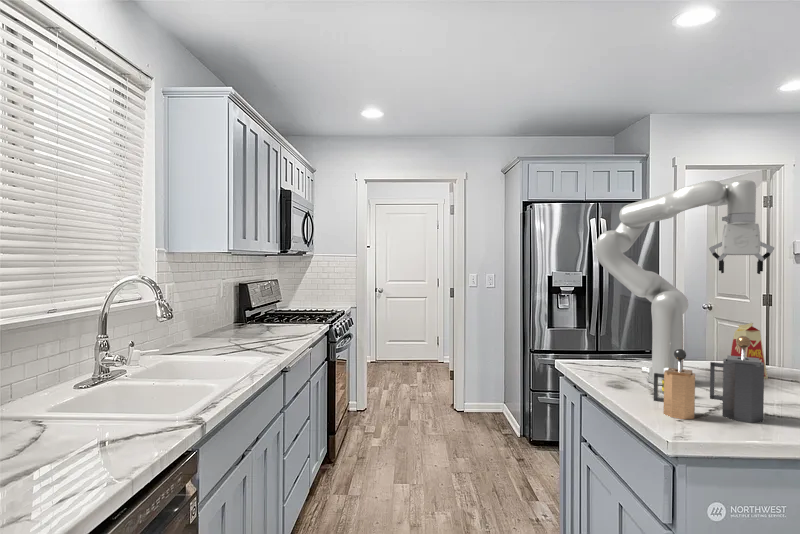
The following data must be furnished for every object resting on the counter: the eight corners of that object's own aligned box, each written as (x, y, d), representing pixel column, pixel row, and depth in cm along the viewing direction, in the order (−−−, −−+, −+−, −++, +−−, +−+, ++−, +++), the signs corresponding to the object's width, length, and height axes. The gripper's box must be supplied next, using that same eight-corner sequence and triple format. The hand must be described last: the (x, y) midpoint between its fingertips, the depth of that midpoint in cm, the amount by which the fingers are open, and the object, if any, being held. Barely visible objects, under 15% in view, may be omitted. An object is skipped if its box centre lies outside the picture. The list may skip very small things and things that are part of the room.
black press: (709, 416, 137) (710, 358, 137) (710, 408, 145) (711, 353, 144) (763, 424, 131) (764, 363, 130) (761, 416, 138) (762, 358, 138)
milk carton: (768, 379, 184) (768, 323, 183) (742, 378, 184) (743, 323, 184) (750, 373, 193) (751, 320, 193) (726, 373, 193) (727, 320, 193)
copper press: (652, 414, 139) (652, 370, 138) (655, 408, 145) (655, 365, 145) (693, 420, 133) (694, 374, 133) (695, 414, 139) (695, 370, 139)
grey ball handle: (672, 411, 138) (673, 349, 138) (673, 408, 140) (674, 347, 140) (685, 412, 136) (685, 350, 136) (685, 410, 139) (686, 348, 139)
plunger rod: (735, 413, 136) (736, 336, 136) (735, 410, 139) (736, 334, 139) (749, 415, 135) (751, 337, 134) (749, 412, 137) (750, 335, 137)
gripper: (709, 220, 164) (708, 273, 164) (775, 218, 155) (774, 274, 155) (709, 221, 170) (709, 272, 171) (773, 219, 161) (772, 273, 161)
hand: (740, 273), depth 163 cm, fingers open, 9 cm apart
